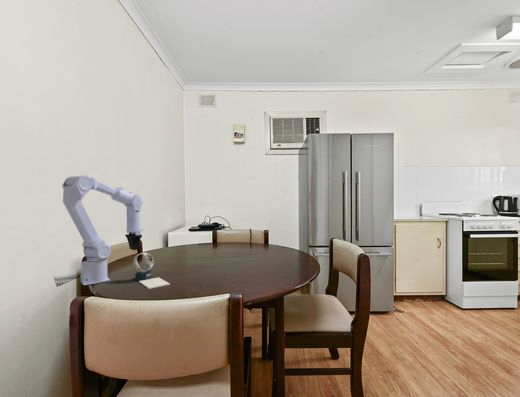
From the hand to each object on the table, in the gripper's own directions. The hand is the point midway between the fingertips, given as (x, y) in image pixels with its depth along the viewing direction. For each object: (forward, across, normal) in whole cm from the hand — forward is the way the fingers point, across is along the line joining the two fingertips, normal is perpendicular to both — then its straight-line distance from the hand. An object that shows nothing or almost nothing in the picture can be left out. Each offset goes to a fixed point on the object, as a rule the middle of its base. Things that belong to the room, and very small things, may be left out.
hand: (133, 249), depth 130 cm
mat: (+10, -26, 0) cm, 28 cm away
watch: (+11, -16, 0) cm, 19 cm away
